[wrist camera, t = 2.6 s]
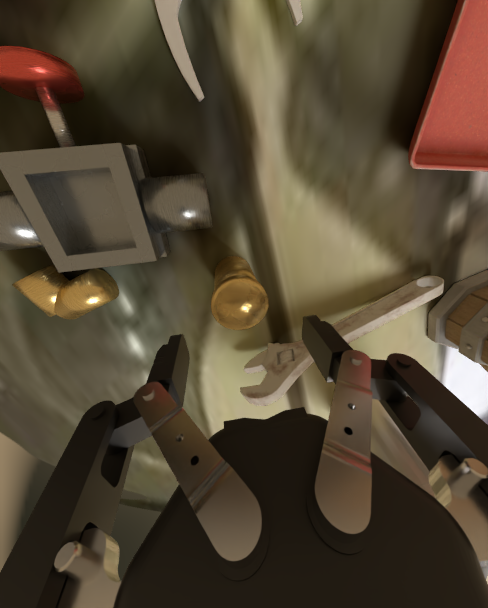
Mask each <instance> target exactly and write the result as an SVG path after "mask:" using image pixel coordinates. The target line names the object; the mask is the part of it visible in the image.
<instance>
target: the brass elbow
mask: <svg viewBox="0 0 488 608" xmlns="http://www.w3.org/2000/svg"><path fill="white" fill-rule="evenodd" d="M12 285H13V286H14V287H15V288H16V289H17V290H19V291H20V292H21V293H22V294H23V295H25V296H26V297H27V298H28V299H29V300H31V301H32V302H33V303H34V304H35V305H37V306H38V307H39V308H40V309H41V310H42V311H44V312H45V313H46V314H47V315H48V316H50V317H51V316H53V315H55V314H57V315H58V316H60V317H62V318H65V319H76V318H78V317H80V316H82V315H84V314H86V313H88V312H90V311H92V310H94V309H96V308H98V307H100V306H102V305H104V304H106V303H108V302H110V301H112V300H114V299H116V298H117V297H118V295H119V289H118V286H117V284H116V282H115V280H114V279H113V278H112V277H111V276H110V275H109V274H108V273H107V272H105V271H103V270H101V269H98V268H93V269H91V270H89V271H87V272H85V273H83V274H81V275H80V276H78V277H76V278H74V279H72V280H70V281H69V280H68V279H67V278H66V277H65V276H64V275H63V274H62V273H61V272H58V270H57V269H56V267H55V266H54V265H50V266H47V267H45V268H43V269H41V270H39V271H37V272H35V273H33V274H31V275H29V276H27V277H25V278H23V279H21V280H19V281H17V282H16V283H14V284H12Z"/></svg>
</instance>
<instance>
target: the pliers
mask: <svg viewBox="0 0 488 608" xmlns="http://www.w3.org/2000/svg"><path fill="white" fill-rule="evenodd" d="M181 2H182V0H155V4H156V7H157V11H158V15H159V18H160V21H161V24H162V27H163V31H164V34H165V37H166V40H167V42H168V45H169V47H170V50H171V52H172V54H173V57H174V59H175V61H176V63H177V65H178V67H179V69H180V71H181V73H182V75H183V77H184V79H185V80H186V82H187V84H188V85H189V87H190V89H191V90H192V92H193V93H194V94H195V96H196V97H197V99H198V100H199V102H200V101H201V100H202V99H204V95H203V93H202V90H201V88H200V85H199V83H198V81H197V78H196V75H195V72H194V70H193V67H192V64H191V62H190V59H189V56H188V53H187V50H186V47H185V44H184V40H183V37H182V33H181V29H180V26H179V22H178V13H179V7H180V4H181ZM286 2H287V5H288V7H289V10H290V12H291V15H292V18H293V21H294V24H295V26H296V25H298V24H299V23H300V22H301V21H302V19H303V16H302V10H301V3H300V0H286Z"/></svg>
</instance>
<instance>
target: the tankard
mask: <svg viewBox="0 0 488 608" xmlns="http://www.w3.org/2000/svg"><path fill="white" fill-rule="evenodd" d="M428 338H429V339H431V340H432V341H434V342H436V343H439V344H442V345H446V346H449V347H452V348H456V349H458V348H459V352H460V353H461V354H463V355H464V356H466V357H467V358H469V359H471V360H472V361H474V362H476V363H479V364H480V365H481V366H482V367H483V368H484V369H485V370H486V371H487V372H488V270H485V271H483V272H481V273H478V274H476V275H473V276H471V277H469V278H466V279H464V280H462V281H459V282H457V283H455V284H453V285H452V287H451V288H450V289H449V290H448V291H447V292H446V293H445V295H444V296H443V297H442V298H441V299H440V300H439V301H438V303H437V304H436V305H435V306H434V307H433V308H432V309H431V311H430V312H429V317H428Z"/></svg>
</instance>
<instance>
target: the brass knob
mask: <svg viewBox="0 0 488 608" xmlns="http://www.w3.org/2000/svg"><path fill="white" fill-rule="evenodd" d="M211 309H212V313H213V316H214V318H215V319H216V320H217V322H219V323H220V324H221V325H222V326H224V327H226V328H229V329H233V330H243V329H247V328H250V327H253V326H254V325H256V324H258V323H259V322H260V321H261V320H262V319H263V318H264V316H265V314H266V312H267V310H268V297H267V294H266V292H265V290H264V288H263V287H262V285H261V284H260V283H259V282H258V281H257V280H256V278H255V276H254V274H253V272H252V270H251V268H250V265H249V264H248V262H247V261H246V260H244V259H243V258H241V257H238V256H229V257H226V258H224V259H222V260H221V261H220V262H219V263H218V265H217V266H216V269H215V289H214V291H213V294H212V301H211Z"/></svg>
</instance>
